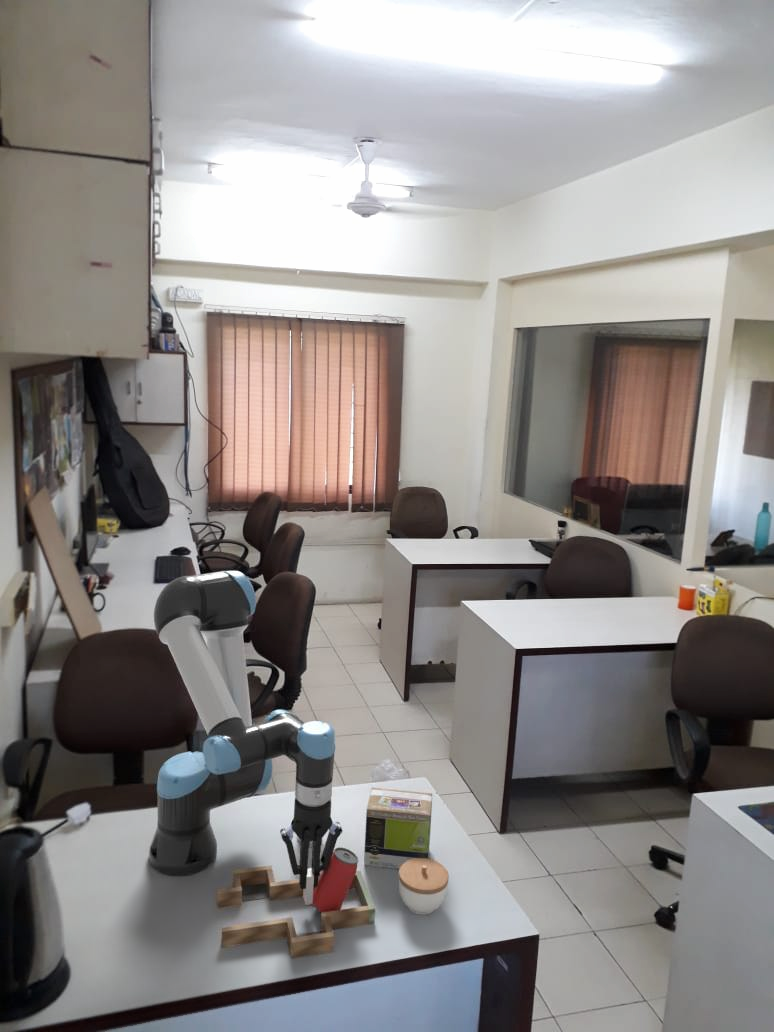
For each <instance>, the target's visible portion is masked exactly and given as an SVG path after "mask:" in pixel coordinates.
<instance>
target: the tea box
mask: <svg viewBox="0 0 774 1032" xmlns="http://www.w3.org/2000/svg"><path fill="white" fill-rule="evenodd" d="M432 805H433V793H430V792H421V791H413V790H411V791H410V790H409V791H408V790H402V789H393V788H392V789H391V788H382V787H381V788H379V787H371V789H370V795H369V798H368V803H367V807H366V815H365V816H366V817H365V833H364V834H365V835H364V855H363V856H364V857H363V860H364V861H363V863H364V864H363V865H364V866H373V867H382V868H388V869H389V868H391V869H400V867H401V865H402V864H403V863H405V862H406V861H408V860H411V859H414V858H427V859H429V855H430V854H429V853H430V843H431V827H432V811H433V809H432V808H433V806H432Z"/></svg>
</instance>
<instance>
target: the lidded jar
mask: <svg viewBox="0 0 774 1032" xmlns="http://www.w3.org/2000/svg"><path fill="white" fill-rule="evenodd" d="M449 879H450V878H449V873H448V870H447V869H446V867H445V866H444V865H443V864H441V863H440V862H438V861H437V860H435V859H431V858H428V859H427V858H414V859H411V860H408V861H406V862H405V863H403V864H402V865H401V867H400V869H399V870H398V890H399V894H400V898H401V900H402V901H403V904H404V905H405V906H406V908H408V909H409V911H411V912H412V913H413V914H416V915H418V916H419V915H422V916H424V915H430V914H432V913H433V912H434V911H436V910H437V909H438V908H439V907H441V905H442V903H443V902H444V900H445V898H446V895H447V890H448V885H449V884H448V883H449Z"/></svg>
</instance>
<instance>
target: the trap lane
mask: <svg viewBox="0 0 774 1032" xmlns="http://www.w3.org/2000/svg"><path fill="white" fill-rule="evenodd" d="M320 876H321V875H320ZM320 876H319V878H320ZM319 878H318V881H319ZM315 888H316V887H313V892H314V890H315ZM350 890H355V891H356V894H357V896H358V900H359V901H360V904H361V906H357V907H349V908H343V909H342V908H341V909H340V910H336V911H329V912H320V930H317V931H310V932H305V933H299V934H297V932H296V928H295V927H296V926H295V923H294V919H293V916H290V917H283V918H277V919H269V920H261V921H256V922H247V923H244V924H235V925H229V926H228V925H227V926H222V927H221V936H220V937H221V939H220V941H221V943H220V944H221V948H226V947H234V946H238V945H239V946H240V945H245V944H251V943H258V942H264V941H266V942H267V941H271V940H277V939H283V938H284V939H285V938H286V941H287V946H288V950H289V954H290V959H296V958H302V957H307V956H309V957H310V956H313V955H319V954H320V955H321V954H326V953H333V952H335V951H334V947H335V933H334V931H336V930H340V929H349V928H354V927H362V926H366V925H367V926H368V925H373V924H374V925H375V921H376V920H375V918H376V907H375V904H374V902H373V899H372V896H371V894H370V892H369V888H368V886H367V884H366V882H365V879H364V876H363V874H362V872H361V870H356V874H355V876H354V878H353V881H352V883H351V886H350V888H349V890H348V891H350ZM216 893H217V894H216V896H217V897H216V908H217V909H222V908H229V907H235V906H237V907H238V906H242V903H243V902H249V901H255V900H263V899H264V900H265V899H269V902H270V901H271V902H272V901H273V902H274V901H277V900H278V901H279V900H287V899H292V898H299V897H303V889H301V887H300V884H299V878H296V879H288V880H280V881H276V879H275V876H274V870H273V866H272V865H270V864H269V865H264V866H257V867H249V868H243V869H242V868H239V869H233V870H232V887H229V888H227V887H226V888H221V889H220V888H219V889H217V892H216Z"/></svg>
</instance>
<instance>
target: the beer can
mask: <svg viewBox="0 0 774 1032" xmlns="http://www.w3.org/2000/svg"><path fill="white" fill-rule="evenodd" d="M358 862H359V857H358V856H357V854H356V853H354V851H351V850H350V849H348V848H345V847H340V846H337V847H336V848H334V851H333V854H332V857H331V860H330V863H329V867H328V869H327V870H326V871H321V873H320V878H319V881H318V886H317V887H316V888H315V890H314V892H313V903H312V905H313V907H314V908H315V909H316V910H317V911H318V912H320V913H322V912H329V911H336V910H342V907H343V904H344V901H345V899H346V897H347V894H348V892H349V891H350V890H349V888H350V886H351V883H352V881H353V878H354V876H355V874H356V871H358V870H357V869H358Z"/></svg>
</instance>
